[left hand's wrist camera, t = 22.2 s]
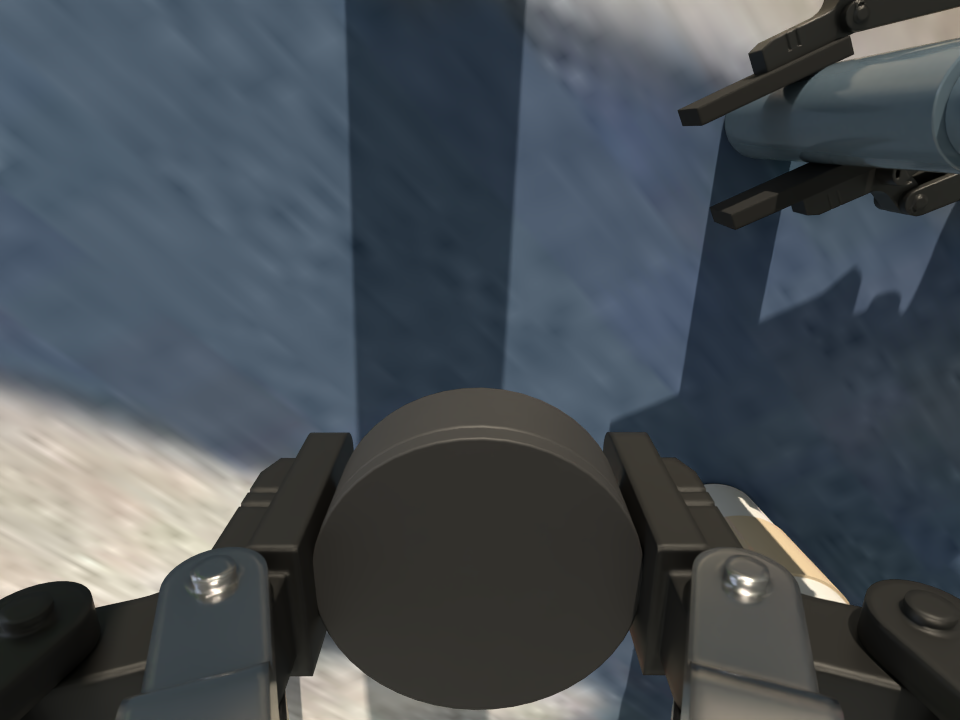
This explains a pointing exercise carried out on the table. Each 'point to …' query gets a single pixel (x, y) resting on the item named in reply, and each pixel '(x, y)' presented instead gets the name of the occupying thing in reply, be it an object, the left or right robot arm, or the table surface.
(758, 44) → the right robot arm
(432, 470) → the lid
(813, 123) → the jar
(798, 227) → the table surface
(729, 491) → the coffee cup
